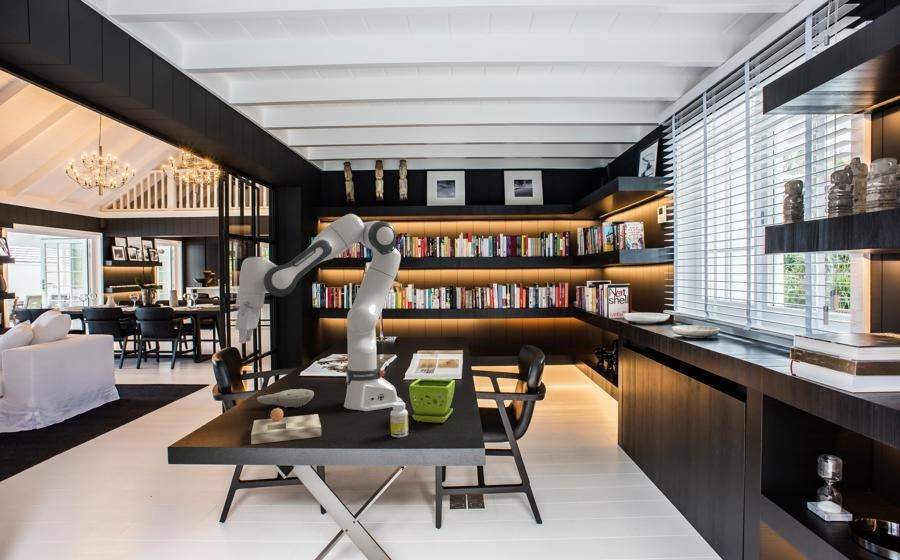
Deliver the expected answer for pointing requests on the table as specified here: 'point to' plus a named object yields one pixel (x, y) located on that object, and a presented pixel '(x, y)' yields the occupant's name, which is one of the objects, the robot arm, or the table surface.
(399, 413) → the supplement bottle
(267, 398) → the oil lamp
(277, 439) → the hole board
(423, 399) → the flower pot
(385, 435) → the table surface
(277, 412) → the ball
